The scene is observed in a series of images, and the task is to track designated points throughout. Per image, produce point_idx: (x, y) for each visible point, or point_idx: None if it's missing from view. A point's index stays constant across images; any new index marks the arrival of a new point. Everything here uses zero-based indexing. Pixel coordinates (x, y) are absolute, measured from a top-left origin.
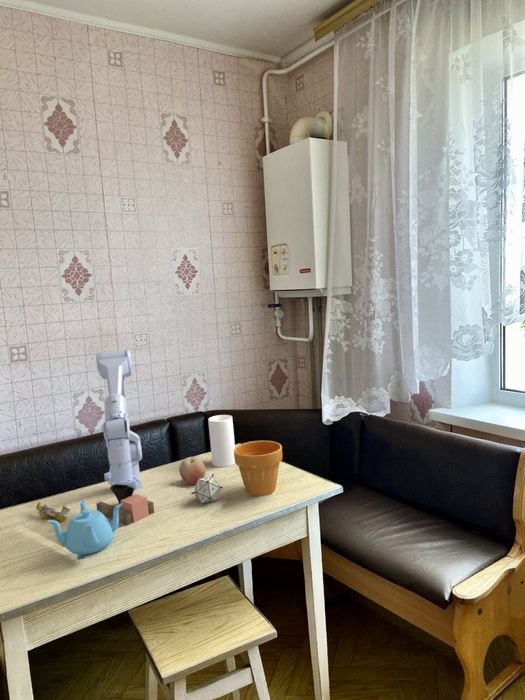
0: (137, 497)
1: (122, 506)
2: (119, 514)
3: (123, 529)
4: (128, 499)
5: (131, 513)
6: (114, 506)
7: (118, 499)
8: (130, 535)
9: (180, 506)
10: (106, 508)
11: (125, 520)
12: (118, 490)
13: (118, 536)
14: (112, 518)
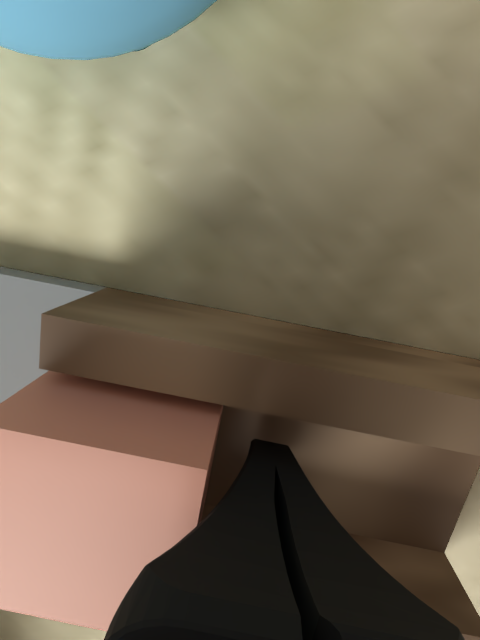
0: (77, 582)
1: (194, 425)
2: (172, 330)
3: (137, 273)
4: (132, 517)
5: (65, 376)
6: (318, 422)
7: (302, 506)
8: (12, 217)
9: (48, 628)
10: (395, 378)
11: (98, 303)
12: (172, 597)
13: (81, 168)
14: (298, 335)
